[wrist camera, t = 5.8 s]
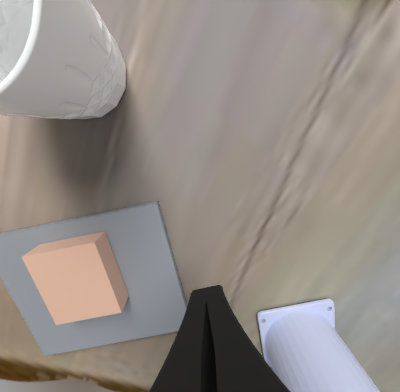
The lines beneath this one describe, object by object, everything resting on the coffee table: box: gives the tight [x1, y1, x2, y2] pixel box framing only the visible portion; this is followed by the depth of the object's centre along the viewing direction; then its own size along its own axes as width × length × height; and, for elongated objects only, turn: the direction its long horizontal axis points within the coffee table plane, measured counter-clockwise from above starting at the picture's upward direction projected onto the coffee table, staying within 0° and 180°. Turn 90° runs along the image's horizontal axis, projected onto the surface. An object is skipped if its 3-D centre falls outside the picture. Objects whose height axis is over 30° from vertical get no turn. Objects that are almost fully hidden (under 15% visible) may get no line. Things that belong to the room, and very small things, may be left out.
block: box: [22, 231, 129, 325], centre depth 18 cm, size 7×2×6 cm
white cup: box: [0, 0, 126, 119], centre depth 11 cm, size 8×8×10 cm
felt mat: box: [0, 201, 187, 356], centre depth 20 cm, size 14×16×1 cm
